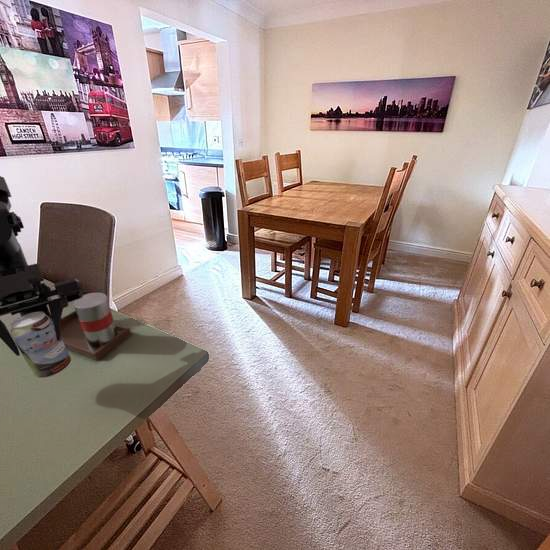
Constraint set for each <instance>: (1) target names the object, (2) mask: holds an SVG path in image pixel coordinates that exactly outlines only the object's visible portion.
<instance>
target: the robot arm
mask: <svg viewBox="0 0 550 550" xmlns="http://www.w3.org/2000/svg"><path fill="white" fill-rule="evenodd" d="M9 198H12V194H11V192H10V189H9V187H8V183H7V181H6V179H5V177H3V176H1V175H0V317H2V316H5V315H9V314H11V316H15V315H17V314H19V315H20V317H22V316H24V315H27V314H30V313H33V312H44V313H45V315H48V316H49V317H51V319H52V321H53V323H54V327H55V331H56V338H57V340H58V341H60V333H61V318H62V315H63V310H64V309H65V308H68V307H69V303H70V302H74V301H75V300H78V299H81V298H82V297H83V295H84V291H83V287H82V284H81V282H80V280H79V279H76V278H70V279H67V280H64V281H59V282H56V283H53V285H54V288H55V289H51V287H50V286H48V285H47V284H46V283H45V282H44V281H45V278H44V276H43V273H42V271H41V267H40V265H39V263H33V264H28V261H27V259H26V256H25V254H24V251H23V248H22V246H21V244H20V243H19V241H18V239H17V237H18V236H19V233H22V229H24V228H25V227H24V224H23V221H22V218H21V216H19V215H17V213H15V211H11V209H12V203H11V201H10V199H9ZM9 331H10V330H9V329H8V328H7V326H6V324H5V323H4V322H3V321H2V320H1V319H0V340H2V342H3V343H4V344H5V345H6V346H7V347H8V348H9V349H10V351H12V352H13V354H15V356H17V357H19V356H21V354H20V353H21V352H20V349H19V348H18V346H17V344H16V342H15V341H14V339H13V337H12V335H11V332H9Z"/></svg>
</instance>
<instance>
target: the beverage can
mask: <svg viewBox="0 0 550 550" xmlns="http://www.w3.org/2000/svg"><path fill="white" fill-rule="evenodd" d="M10 326H11V328H10V335H11V336H12V338H13V340H14V342H15V344H16V345H17V347H18V350H19V352H20V353H21V355H22V357H23V359H24V360H25V362H26V363H27V365H28V367H29V369H30V371H31V372H32V374H33V376H34V377H36V378H39V379H41V378H42V379H43V378H44V379H45V378H46V379H47V378H51V377H54V376H56V375H59V374H60V373H62V372H63V371H65V370H66V369H67V367H68V366H69V365H70V363H71V362H72V357H71V355H70V352H68V351H69V350H67V349H66V347H65V345H64V343H63V341H62V339H61V337H60V341H58V340H57V338H56V331H55V327H54V323H53V321H52V319H51V317H49V316H48V315H45V313H44V312H33V313H30V314H27V315H24V316H22V317H21V316H20V317H17V318H16V319H15V320H13V321H12V322H11V324H10Z"/></svg>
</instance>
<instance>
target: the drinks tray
mask: <svg viewBox="0 0 550 550" xmlns="http://www.w3.org/2000/svg"><path fill="white" fill-rule="evenodd" d="M114 324H115V328H116V331H117V336H116V337H115V338H114V339H113V340H111V341H110V342H108V343H106V344H105V345H103V346H102V347H101V348H99V349H98V350H92V349H90V348H89V347H88V345H87V342H86V339H85V336H84V333H83V330H82V328H81V325H80V323H79V320H78V316H77V313H76V310H73V311H71V312H70V313H69V314H68V313H67V315H65V316H63V317H61V333H60V337H61V339H62V341H63V343H64V345H65V347H66V349H67V351H70V352H73V353H76V354H77V355H78V354H79V355H80V356H83V357H86V358H89V359H91V360H94V361H96V362H97V361H99V360H101V358H103V357H105V356H106V354H108V353H109V352H110V351H112V350H113V349H115V348H116V347H117V346H118V345H119V344H120V343H122V342H124V340H126V339H127V338H128V337H130V336H131V334H132V333H131V330H130V327H127V326H124V325H121V324H119V323H115V322H114Z"/></svg>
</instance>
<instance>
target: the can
mask: <svg viewBox="0 0 550 550" xmlns="http://www.w3.org/2000/svg"><path fill="white" fill-rule="evenodd" d="M73 307H74V311H76V313H77V316H78V320H79V323H80V325H81V328H82V330H83V333H84V336H85V339H86V342H87V345H88V347H89V348H90V349H92V350H98V349H99V348H101V347H102V346H103V345H105V344H106V343H108V342H110V341H111V340H113V339H114V338H115V337H116V336H117V331H116V328H115V324H116V323H115V321H114V317H113V313H112V309H111V307H110V303H109V300H108V296H107V295H106V294H105V293H104V292H90V293H86V294H83V297H82V298H81V299H78V300H74V301H73ZM114 323H115V324H114Z"/></svg>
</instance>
